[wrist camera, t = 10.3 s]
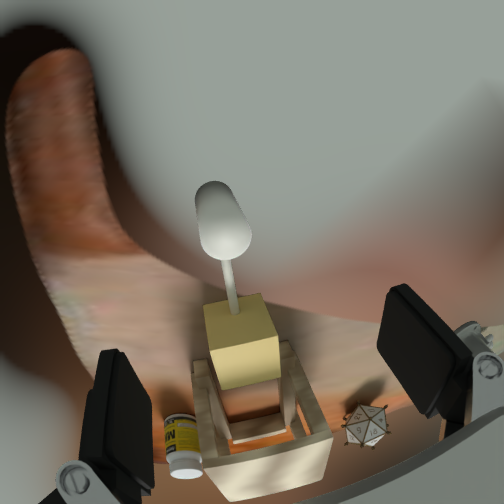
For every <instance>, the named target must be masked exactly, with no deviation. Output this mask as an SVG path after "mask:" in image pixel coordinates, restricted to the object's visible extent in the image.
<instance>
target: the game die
mask: <svg viewBox="0 0 504 504" xmlns="http://www.w3.org/2000/svg"><path fill="white" fill-rule="evenodd" d="M357 404H358V406H357V407H356V409H355V410H354V411H353V412H352V413H351V415H350V416H349V417H348V418H343V420H345V421H346V423H345V425H341V427H342V428H344V427H345V430H346V436H347V442H346V443H345V445H344V446H346V445H348V443H351V444H358V445H361V446H360V447H361V448H362V447H364V446H371V447H372V450H374V449H375V447H374V445H375V444H376V443H377V442H378V441H379V440H380V439H381V438H382V437H383V436H384V435H385V434H386V433H387V434H391V432H389V431H388V432H387V427H388V426H389V425H388V424H386V415H385V409H386V408H387V407H388V405H385V406H384V408H380V407H373V406H367V405H360V401H358V400H357Z"/></svg>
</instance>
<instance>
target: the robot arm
mask: <svg viewBox="0 0 504 504" xmlns="http://www.w3.org/2000/svg"><path fill="white" fill-rule="evenodd" d="M492 340H493V335H492V334H489V335H488V336H486V337H484V336H483V335H482V334H481V326H480V325H479V324H478V323H477V322H475V321H470V322H467V323H465V324H463V325H462V326H460V327H459V328H457V329H456V330H455V331H454V332H453V331H452V330H451V328H450V327H449V326H448V325H447V324H446V323H445V322H444V321H443V320H442V319H441V318H440V317H439V316H438V315H437V314H436V313H435V312H434V311H433V310H432V309H431V308H430V307H429V306H428V305H427V304H426V303H425V302H424V301H423V300H422V299H421V298H420V297H419V296H418V295H417V294H416V293H415V292H414V291H413V290H412V289H411V288H410V287H409V286H408V285H407V284H401V285H397V286H394V287H391V288H390V291H389V292H388V293H387V295H386V300H385V305H384V311H383V316H382V321H381V326H380V331H379V335H378V340H377V349H378V351H379V353H380V355H381V356H382V357H383V359H384V360H385V362H386V363H387V365H388V366H389V368H390V369H391V370H392V372H393V373H394V375H395V376H396V378H397V379H398V381H399V382H400V384H401V385H402V387H403V388H404V390H405V391H406V393H407V394H408V396H409V397H410V399H411V400H412V402H413V403H414V405H415V406H416V408H417V409H418V411H419V412H420V413H421V414H425V416H426V417H427V419H429V418H431V417H433V416H435V415H437V414H438V413H440V415H441V416H442V424H441V430H440V436H439V442H438V443H437V444H435V445H433V446H431V447H430V448H428V449H426V450H425V451H423V452H421V453H419V454H417V455H415V456H413V457H411V458H409V459H408V460H406V461H404V462H402V463H400V464H398V465H395V466H393V467H391V468H389V469H387V470H385V471H383V472H380V473H378V474H376V475H374V476H371V477H369V478H367V479H364V480H362V481H359V482H357V483H354V484H352V485H349V486H347V487H344V488H341V489H338V490H336V491H333V492H330V493H327V494H324V495H321V496H318V497H314V498H311V499H308V500H304V501H301V502H297V503H294V504H504V362H503V360H502V359H501V358H500V357H499V356H498V355H496V354H495V353H494V352H493V351H492V350H491V348H492V347H493V342H492ZM55 481H56V487H57V488H56V489H55V490H54V491H53V492H52V493H50V494H49V495H48V496H47V497H46V498H44V499H43V500H42V501H41V502H40V503H38V504H142V499H141V496H151V489H153V488H154V486H155V481H154V465H153V439H152V403H151V399H150V397H149V395H148V394H147V392H146V390H145V389H144V387H143V385H142V384H141V382H140V380H139V378H138V377H137V375H136V373H135V371H134V370H133V368H132V366H131V364H130V362H129V360H128V359H127V357H126V355H125V353H124V352H120V351H119V350H118V349H110V350H102V351H101V352H100V355H99V360H98V365H97V370H96V375H95V381H94V386H93V389H91V390H90V391H89V392H88V395H87V400H86V406H85V412H84V419H83V426H82V434H81V442H80V451H79V460H72V461H68V462H66V463H64V464H63V465H62V466H61V467H60V468H59V470H58V472H57V474H56V479H55Z"/></svg>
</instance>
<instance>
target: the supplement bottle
mask: <svg viewBox="0 0 504 504" xmlns="http://www.w3.org/2000/svg"><path fill="white" fill-rule="evenodd" d="M164 431H165V447H166V459H167V461H168V462H169V463H170V466H169V468H170V474H171V476H173V477H175V478H179V479H192V478H197V477H199V476H201V475H202V465H201V462H202V458H201V451H200V445H199V438H198V430H197V423H196V418H195V417H194V416H192V415H189V414H173V415H170V416H168V417H167V418H166V419H165V421H164Z"/></svg>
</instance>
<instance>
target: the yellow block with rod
mask: <svg viewBox="0 0 504 504" xmlns="http://www.w3.org/2000/svg"><path fill="white" fill-rule="evenodd" d="M195 206H196V213H197V220H198V227H199V234H200V241H201V245H202V248H203V249H204V251H205V252H206V253H207V254H208V255H209V256H211V257H213V258H215V259H218V260H221V265H222V270H223V275H224V280H225V286H226V291H227V297H228V300H225V301H220V302H215V303H210V304H205V305H203V311H204V318H205V325H206V331H207V338H208V344H209V351H210V354H211V357H212V361H213V364H214V367H215V370H216V373H217V377H218V380H219V383H220V386H221V389H222V390H227V389H232V388H237V387H241V386H246V385H250V384H255V383H259V382H263V381H267V380H271V379H275V378H279V377H281V368H280V354H279V341H278V334H277V332H276V330H275V327H274V325H273V322H272V320H271V317H270V315H269V313H268V310H267V308H266V305H265V303H264V300H263V298H262V296H261V293H257V294H253V295H248V296H244V297H239V298H237V293H236V288H235V281H234V276H233V270H232V264H231V259H234V258H237V257H238V256H240V255H241V254H243V253H244V252H245V251H246V250H247V248H248V247H249V245H250V243H251V239H252V231H251V228H250V225H249V223H248V221H247V220H246V218H245V216H244V214H243V212H242V210H241V208H240V206H239V204H238V203H237V201H236V199H235V197H234V195H233V193H232V191H231V189H230V188H229V187H228V186H227V185H226V184H224V183H222V182H219V181H211V182H208V183H205V184H204V185H202V186H201V187H200V188H199V189H198V191H197V193H196V196H195Z"/></svg>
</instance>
